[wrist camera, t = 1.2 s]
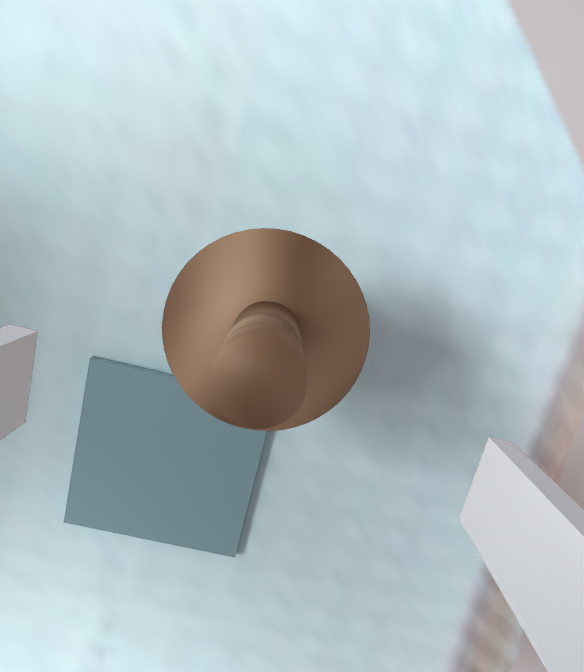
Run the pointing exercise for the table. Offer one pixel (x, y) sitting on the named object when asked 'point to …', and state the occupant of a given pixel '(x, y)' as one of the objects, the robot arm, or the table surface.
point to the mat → (159, 462)
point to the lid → (265, 329)
